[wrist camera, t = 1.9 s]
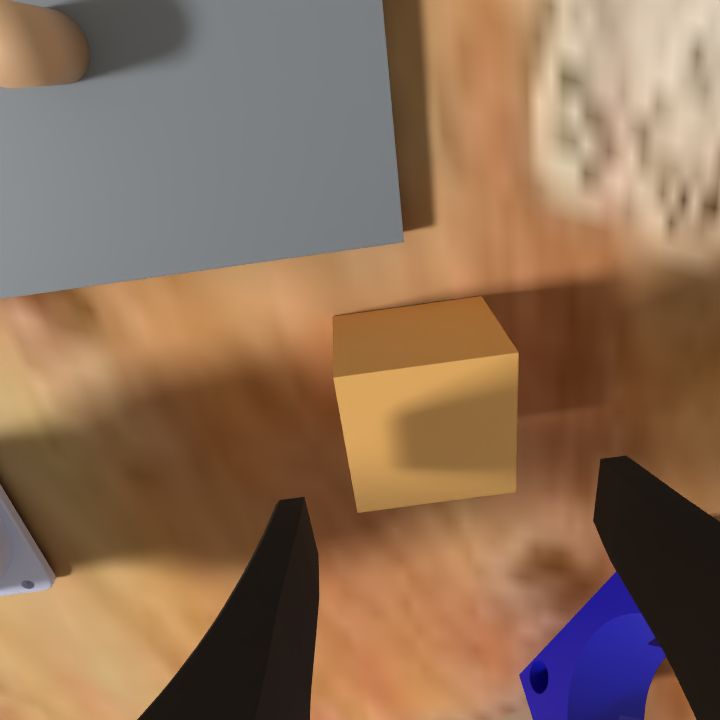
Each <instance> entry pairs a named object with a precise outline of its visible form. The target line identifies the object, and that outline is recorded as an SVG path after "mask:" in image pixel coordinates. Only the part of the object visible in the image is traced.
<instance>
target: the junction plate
mask: <svg viewBox="0 0 720 720" xmlns="http://www.w3.org/2000/svg"><path fill="white" fill-rule="evenodd" d="M401 242H404V237H403V226H402V215H401V204H400V192H399V181H398V170H397V159H396V148H395V137H394V126H393V115H392V103H391V92H390V81H389V70H388V59H387V48H386V37H385V26H384V15H383V3H382V0H0V299H2V298H10V297H17V296H24V295H31V294H38V293H45V292H52V291H59V290H67V289H74V288H81V287H88V286H95V285H102V284H109V283H116V282H124V281H131V280H138V279H145V278H152V277H159V276H166V275H173V274H180V273H188V272H195V271H202V270H209V269H216V268H223V267H230V266H237V265H245V264H252V263H259V262H266V261H273V260H280V259H287V258H294V257H302V256H309V255H316V254H323V253H330V252H337V251H344V250H351V249H358V248H366V247H373V246H380V245H387V244H394V243H401Z"/></svg>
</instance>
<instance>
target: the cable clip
mask: <svg viewBox="0 0 720 720" xmlns="http://www.w3.org/2000/svg"><path fill="white" fill-rule="evenodd" d="M665 657H666V655H665V653H664V652H663V650H662V648H661V646H660V645H659V643H658V641H657V639H656V638H655V636H654V634H653V633H652V631H651V629H650V628H649V626H648V624H647V622H646V621H645V619H644V617H643V616H642V614H641V612H640V611H639V609H638V607H637V605H636V604H635V602H634V600H633V599H632V597H631V595H630V594H629V592H628V590H627V588H626V587H625V585H624V583H623V582H622V580H621V578H620V576H619V575H618V573H617V571H616V573H615V574H614V575H613V576H612V577H611V578H610V579H609V580H608V581H607V582H606V583H605V584H604V585H603V586H602V587H601V588H600V590H599V591H598V592H597V593H596V594H595V595H594V596H593V597H592V598H591V599H590V600H589V601H588V602H587V603H586V604H585V606H584V607H583V608H582V609H581V610H580V611H579V612H578V613H577V614H576V615H575V616H574V617H573V618H572V619H571V620H570V621H569V623H568V624H567V625H566V626H565V627H564V628H563V629H562V630H561V631H560V632H559V633H558V634H557V635H556V636H555V637H554V639H553V640H552V641H551V642H550V643H549V644H548V645H547V646H546V647H545V648H544V649H543V650H542V651H541V652H540V653H539V655H538V656H537V657H536V658H535V659H534V660H533V661H532V662H531V663H530V664H529V665H528V666H527V667H526V668H525V669H524V670H523V672H522V673H521V674H520V675H519V676H520V679H521V682H522V685H523V689H524V692H525V695H526V698H527V702H528V705H529V708H530V711H531V714H532V718H533V720H644V714H645V704H646V699H647V694H648V690H649V686H650V684H651V681H652V678H653V676H654V674H655V672H656V670H657V668H658V666H659V665H660V663H661V662H662V660H663V659H664V658H665Z"/></svg>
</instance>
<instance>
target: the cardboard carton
mask: <svg viewBox="0 0 720 720" xmlns="http://www.w3.org/2000/svg"><path fill="white" fill-rule="evenodd" d="M518 358H519V352H518V351H517V349H516V348H515V346H514V345H513V343H512V342H511V340H510V339H509V337H508V336H507V334H506V333H505V331H504V330H503V328H502V326H501V325H500V323H499V322H498V320H497V319H496V317H495V316H494V314H493V313H492V311H491V310H490V308H489V307H488V305H487V304H486V302H485V301H484V299H483V298H482V296H478V297H471V298H463V299H456V300H449V301H442V302H434V303H427V304H420V305H413V306H405V307H398V308H391V309H384V310H376V311H369V312H362V313H355V314H347V315H340V316H333V379H334V385H335V390H336V396H337V401H338V407H339V413H340V418H341V424H342V429H343V435H344V441H345V446H346V452H347V457H348V463H349V469H350V474H351V480H352V485H353V491H354V496H355V502H356V508H357V513H360V512H368V511H375V510H383V509H391V508H398V507H406V506H414V505H421V504H429V503H437V502H444V501H452V500H460V499H467V498H475V497H483V496H490V495H498V494H505V493H513V492H516V463H517V411H518Z"/></svg>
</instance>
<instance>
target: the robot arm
mask: <svg viewBox="0 0 720 720" xmlns="http://www.w3.org/2000/svg"><path fill="white" fill-rule="evenodd" d="M593 521H594V523H595V526H596V528H597V531H598V533H599V535H600V538H601V540H602V543H603V545H604V547H605V549H606V552H607V554H608V556H609V558H610V561H611V562H612V564H613V566H614V568H615V569H616V571H617V573H618V575H619V576H620V578H621V580H622V582H623V583H624V585H625V587H626V588H627V590H628V592H629V594H630V595H631V597H632V599H633V600H634V602H635V604H636V605H637V607H638V609H639V611H640V612H641V614H642V616H643V617H644V619H645V621H646V622H647V624H648V626H649V628H650V629H651V631H652V633H653V634H654V636H655V638H656V639H657V641H658V643H659V645H660V646H661V648H662V650H663V652H664V653H665V655H666V657H667V659H668V661H669V663H670V665H671V666H672V668H673V670H674V672H675V674H676V677H677V679H678V681H679V683H680V685H681V687H682V689H683V692H684V694H685V696H686V698H687V700H688V702H689V704H690V706H691V709H692V711H693V713H694V715H695V717H696V719H697V720H720V522H719V521H718V520H716V519H715V518H713V517H712V516H710V515H709V514H707V513H706V512H704V511H703V510H702V509H700V508H699V507H697V506H696V505H694V504H693V503H691V502H690V501H689V500H687V499H686V498H684V497H683V496H681V495H680V494H679V493H677V492H676V491H674V490H673V489H672V488H670V487H669V486H668V485H666V484H665V483H663V482H662V481H661V480H659V479H658V478H656V477H655V476H654V475H652V474H651V473H650V472H648V471H647V470H646V469H644V468H643V467H641V466H640V465H639V464H637V463H636V462H634V461H633V460H632V459H630V458H629V457H627V456H620V457H612V458H604V459H601V460H600V468H599V476H598V485H597V493H596V502H595V510H594V519H593ZM55 579H56V577H55V574H54V573H53V571H52V569H51V568H50V566H49V564H48V563H47V561H46V559H45V558H44V556H43V554H42V553H41V551H40V549H39V548H38V546H37V544H36V543H35V541H34V539H33V538H32V536H31V534H30V533H29V531H28V529H27V528H26V526H25V525H24V523H23V521H22V520H21V518H20V516H19V515H18V513H17V511H16V510H15V508H14V506H13V505H12V503H11V501H10V500H9V498H8V496H7V495H6V493H5V491H4V490H3V488H2V486H1V485H0V596H3V595H11V594H19V593H26V592H34V591H42V590H47V589H49V588H51V587H52V585H53V583H54V581H55ZM318 605H319V561H318V552H317V547H316V543H315V539H314V535H313V531H312V527H311V522H310V518H309V514H308V510H307V506H306V502H305V497H300V498H292V499H285V500H279V502H278V503H277V504H276V506H275V508H274V511H273V513H272V516H271V518H270V520H269V523H268V525H267V527H266V529H265V531H264V534H263V536H262V538H261V540H260V542H259V544H258V546H257V548H256V550H255V552H254V554H253V556H252V558H251V560H250V561H249V563H248V565H247V567H246V569H245V571H244V573H243V575H242V577H241V578H240V580H239V582H238V583H237V585H236V587H235V589H234V590H233V592H232V594H231V595H230V597H229V599H228V600H227V602H226V604H225V605H224V607H223V609H222V610H221V612H220V613H219V615H218V616H217V618H216V620H215V621H214V623H213V624H212V626H211V627H210V629H209V630H208V632H207V633H206V634H205V636H204V637H203V639H202V640H201V642H200V643H199V644H198V646H197V647H196V649H195V650H194V651H193V653H192V654H191V655H190V657H189V658H188V659H187V660H186V662H185V663H184V664H183V666H182V667H181V668H180V670H179V671H178V672H177V674H176V675H175V676H174V677H173V679H172V680H171V681H170V682H169V684H168V685H167V686H166V687H165V688H164V690H163V691H162V692H161V693H160V694H159V696H158V697H157V698H156V699H155V700H154V701H153V702H152V704H151V705H150V706H149V707H148V708H147V709H146V710H145V711H144V713H143V714H142V715H141V716H140V717H139V718H138V719H137V720H310V701H311V685H312V674H313V663H314V652H315V640H316V629H317V617H318Z"/></svg>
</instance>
